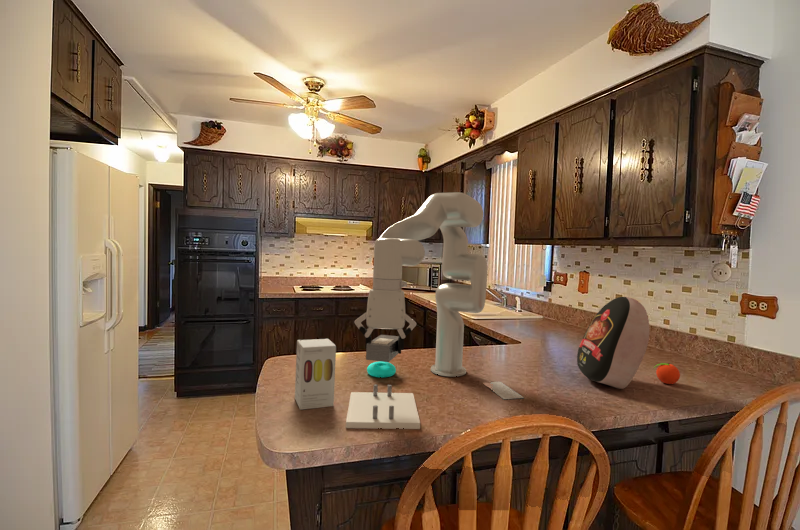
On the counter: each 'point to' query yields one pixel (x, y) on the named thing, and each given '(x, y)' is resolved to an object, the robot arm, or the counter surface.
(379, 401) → the white peg board
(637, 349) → the packaged food
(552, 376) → the counter surface
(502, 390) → the smartphone
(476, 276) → the robot arm
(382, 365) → the donuts
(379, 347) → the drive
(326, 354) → the supplement box
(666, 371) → the clementine
